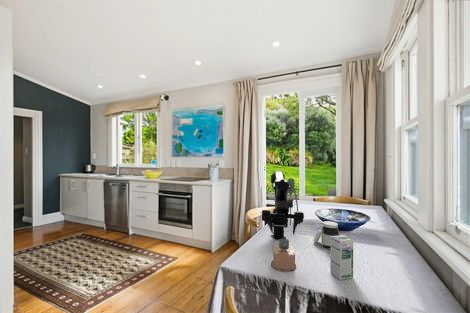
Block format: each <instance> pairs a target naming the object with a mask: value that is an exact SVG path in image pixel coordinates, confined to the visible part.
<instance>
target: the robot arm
mask: <svg viewBox="0 0 470 313" xmlns="http://www.w3.org/2000/svg"><path fill="white" fill-rule="evenodd" d="M273 172H274V173H272V174H271V175H270V184H271V187H272V191H274V208H273V210H272V212H271V210H270V209H262V210H261V220H262V221H263V222H264V223H266V224H267V226H268V227H269V229H270V233H271V234H270V236H271V237H272V238H273V239H274V240H275V241H276V240H277V241H279V239H282V238H284V239H287V237H286V236H285V228H286V229H287V228H288V227H289V226H288V225H289V220H290V219H291V220H292V219H293V223H292V224H293V225H292V234H293V235H294V236H295V233H296V228H297V227H298V225H300V224H302V223H304V219H305V214H304V212H303V211H299V210H298V211H297V210H294V211H293V212H294V213H291V214H290V208H291V209H292V208H293V207H294V200H293V199H291V200H290V199H288V195H289V192H288V191H289V189H290V186H289V184H288V183H287V181H288V180H286V176H285V174H284V171H282V170H276V171H273Z"/></svg>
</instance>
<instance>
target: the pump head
mask: <svg viewBox="0 0 470 313" xmlns="http://www.w3.org/2000/svg"><path fill="white" fill-rule="evenodd" d="M278 246H279V248H280V249H282V251H285V250H286V249H289V247H290V240H289V239H287V238H286V239H284V238H282V239H279V240H278Z"/></svg>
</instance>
